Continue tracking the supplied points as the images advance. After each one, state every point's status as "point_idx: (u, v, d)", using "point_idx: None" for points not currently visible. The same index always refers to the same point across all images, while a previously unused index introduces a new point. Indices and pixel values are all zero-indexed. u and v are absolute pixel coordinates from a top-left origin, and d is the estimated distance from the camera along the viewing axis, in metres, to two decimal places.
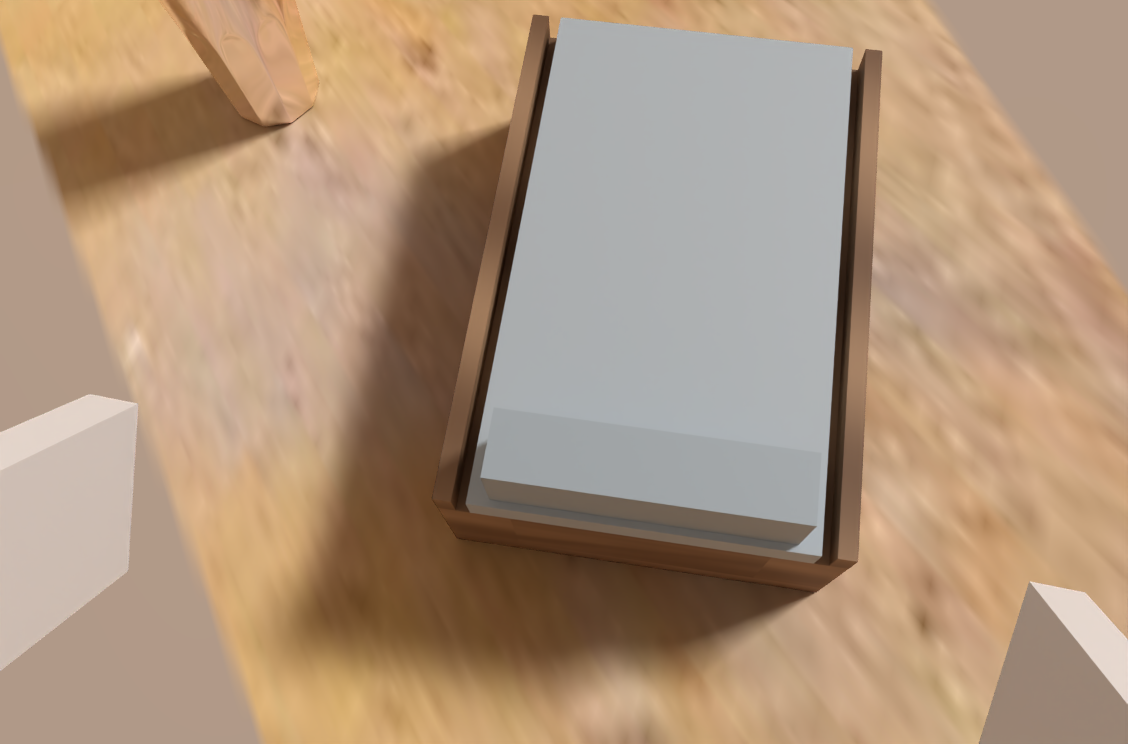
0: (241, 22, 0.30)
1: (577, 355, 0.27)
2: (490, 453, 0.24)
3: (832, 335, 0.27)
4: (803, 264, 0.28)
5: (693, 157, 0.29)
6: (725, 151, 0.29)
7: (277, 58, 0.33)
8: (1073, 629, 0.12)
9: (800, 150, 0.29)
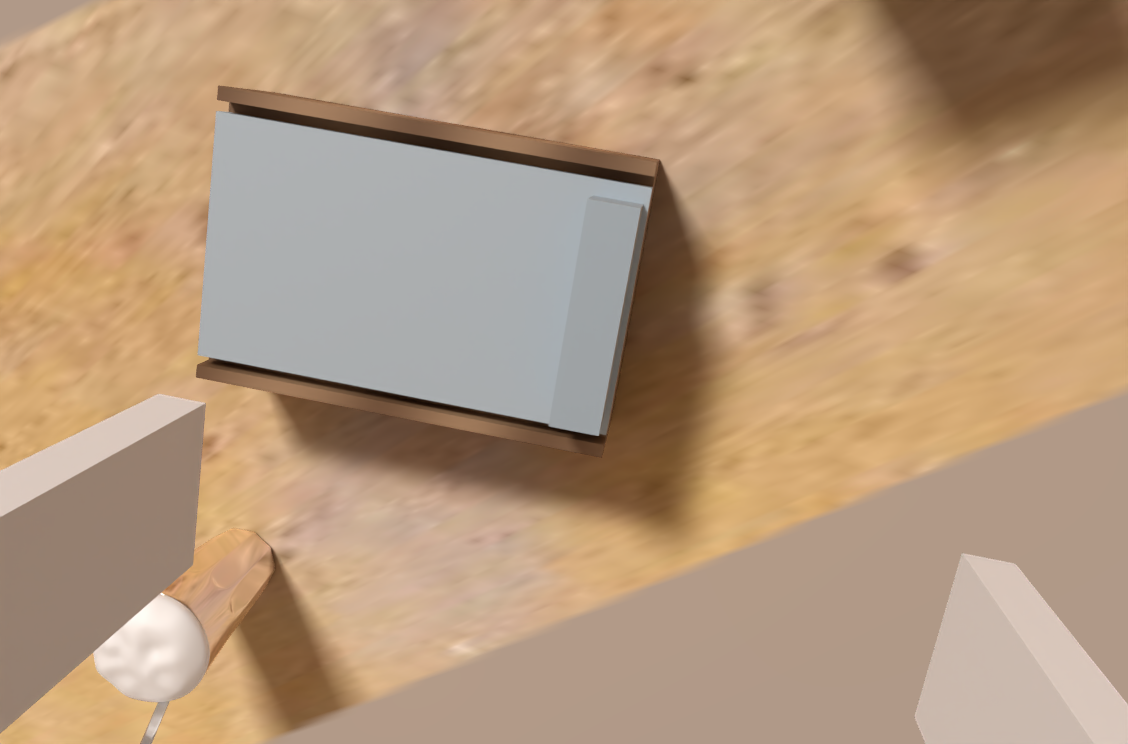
0: (221, 602, 0.39)
1: (496, 354, 0.36)
2: (581, 429, 0.34)
3: (481, 160, 0.35)
4: (420, 176, 0.35)
5: (326, 255, 0.36)
6: (320, 229, 0.36)
7: (234, 568, 0.41)
8: (997, 595, 0.13)
9: (318, 167, 0.35)
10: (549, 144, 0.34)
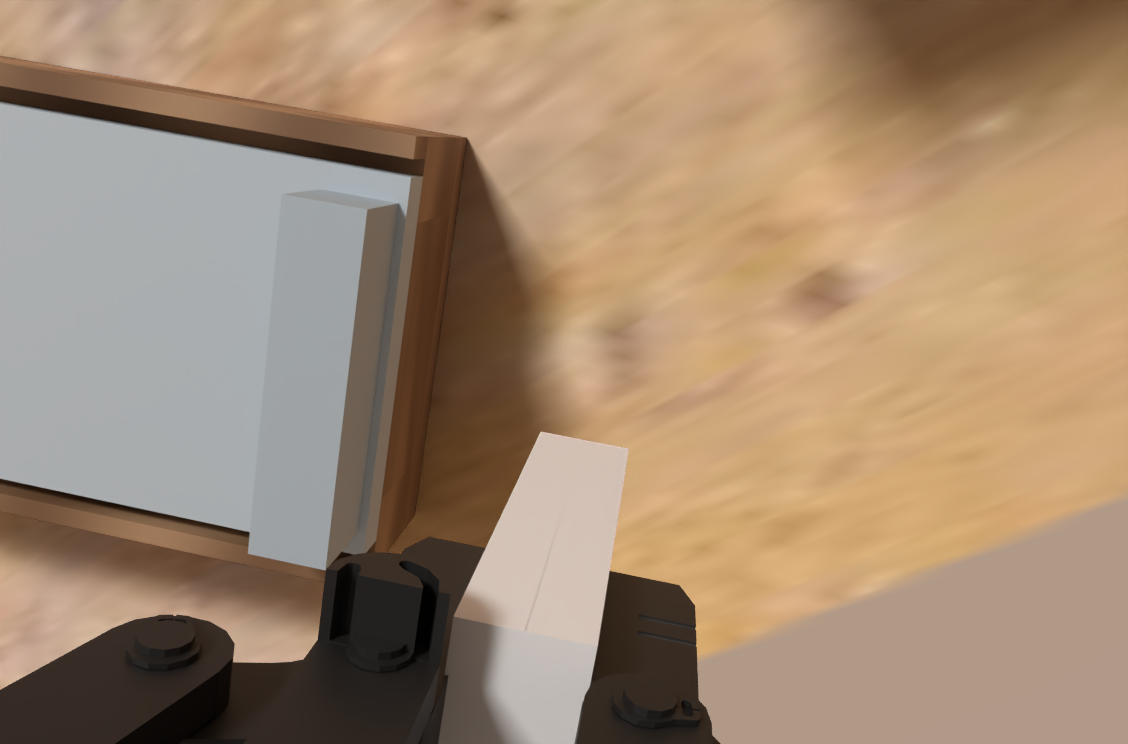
0: None
1: (193, 432, 0.24)
2: (298, 558, 0.22)
3: (148, 134, 0.22)
4: (61, 159, 0.22)
5: None
6: None
7: None
8: (582, 466, 0.15)
9: None
10: (250, 108, 0.22)
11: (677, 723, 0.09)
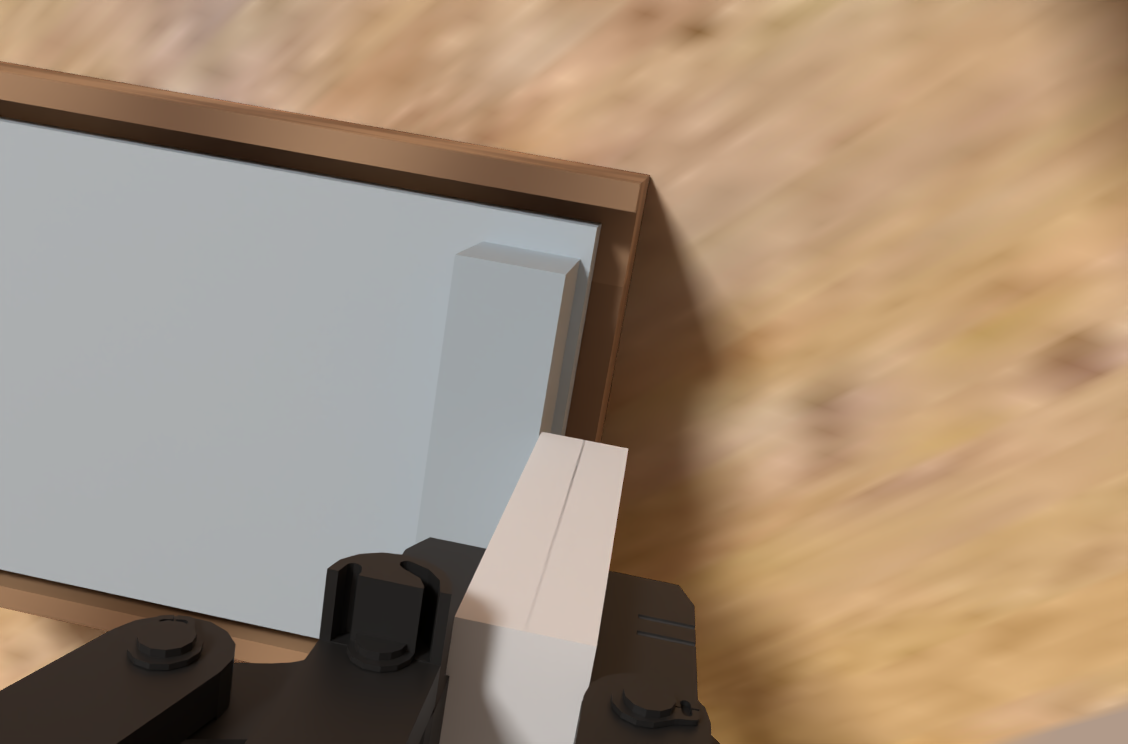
0: None
1: (312, 533, 0.19)
2: None
3: (267, 173, 0.18)
4: (156, 204, 0.18)
5: None
6: None
7: None
8: (581, 466, 0.15)
9: None
10: (429, 149, 0.17)
11: (676, 723, 0.09)
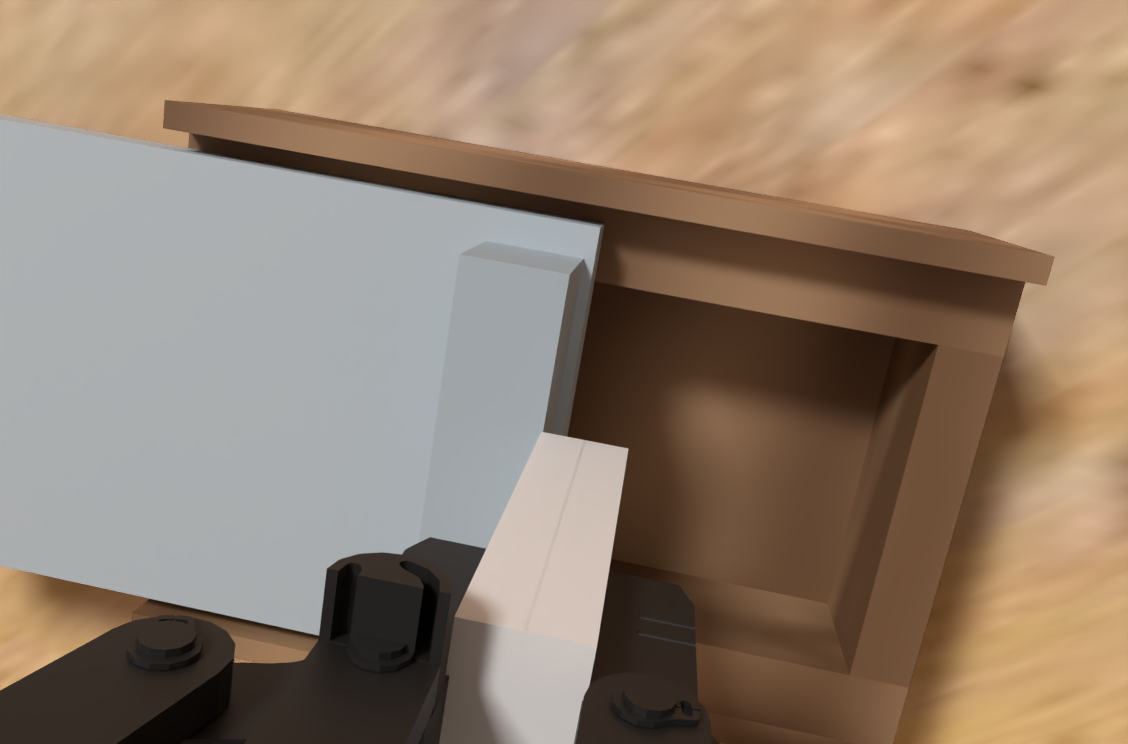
0: None
1: (316, 531, 0.19)
2: None
3: (271, 173, 0.18)
4: (161, 203, 0.18)
5: (1, 349, 0.19)
6: None
7: None
8: (581, 466, 0.15)
9: None
10: (829, 219, 0.17)
11: (676, 722, 0.09)
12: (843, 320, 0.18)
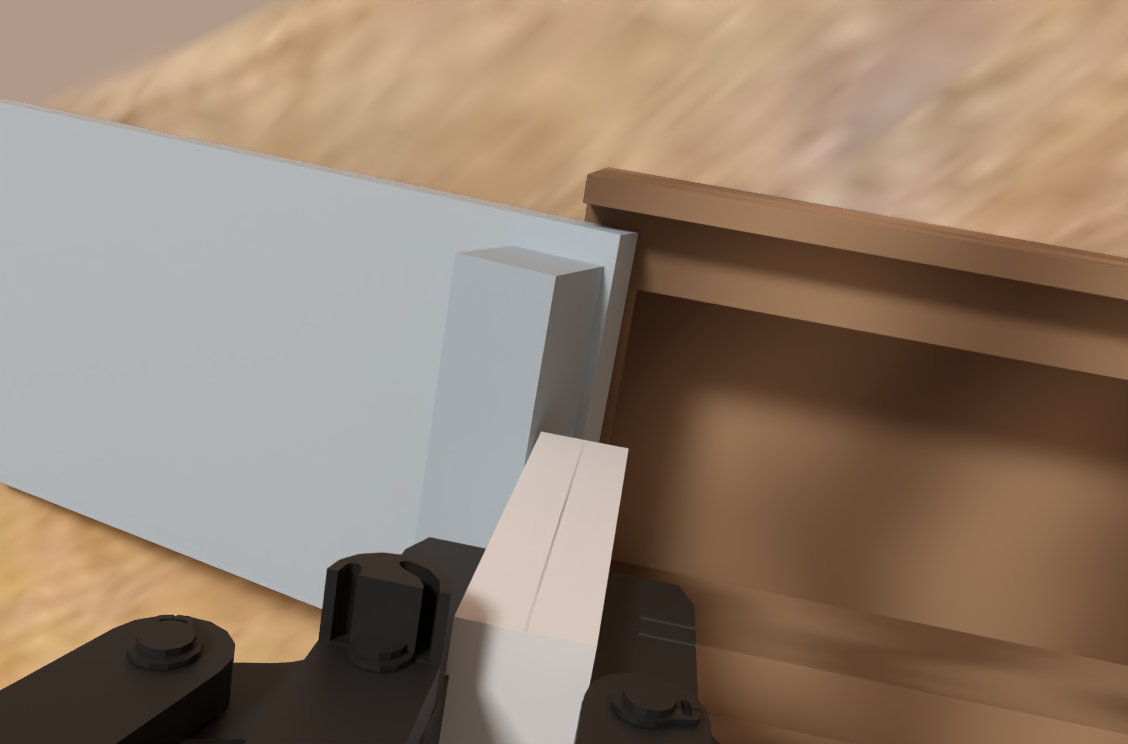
0: None
1: (357, 521, 0.20)
2: None
3: (329, 177, 0.19)
4: (240, 204, 0.20)
5: (116, 331, 0.22)
6: (106, 288, 0.22)
7: None
8: (581, 466, 0.15)
9: (100, 187, 0.21)
10: None
11: (676, 722, 0.09)
12: None
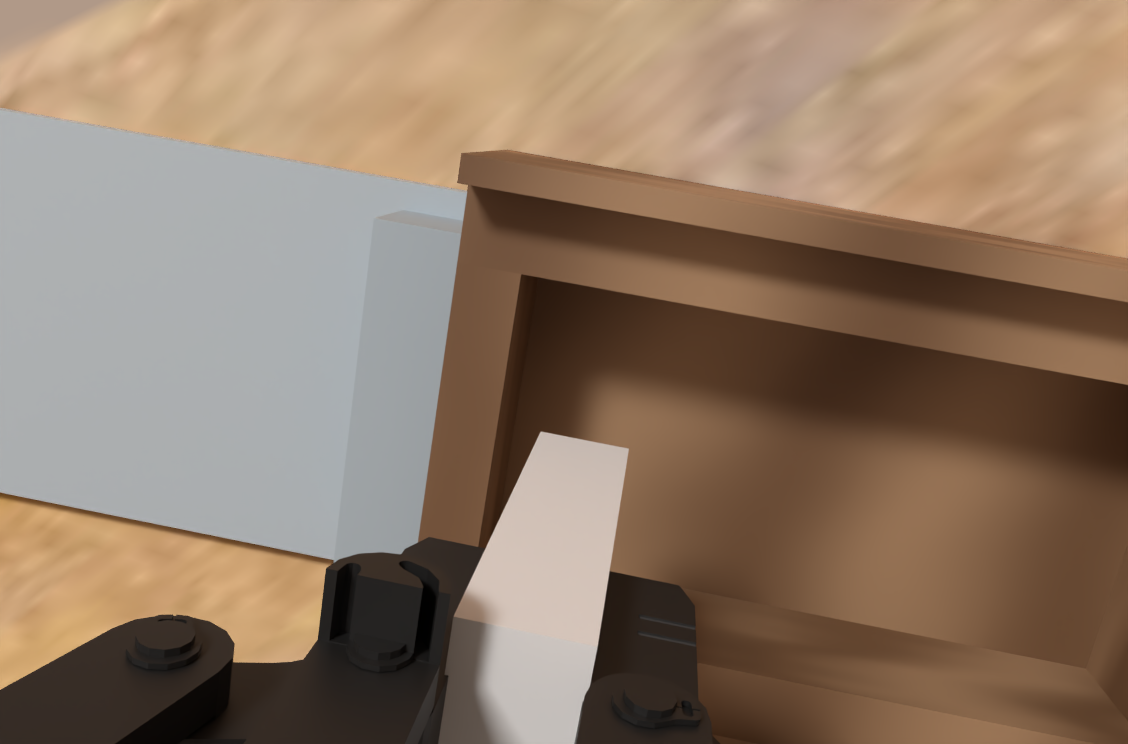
0: None
1: (265, 457, 0.23)
2: None
3: (223, 153, 0.21)
4: (130, 179, 0.22)
5: None
6: None
7: None
8: (581, 466, 0.15)
9: None
10: None
11: (676, 722, 0.09)
12: None
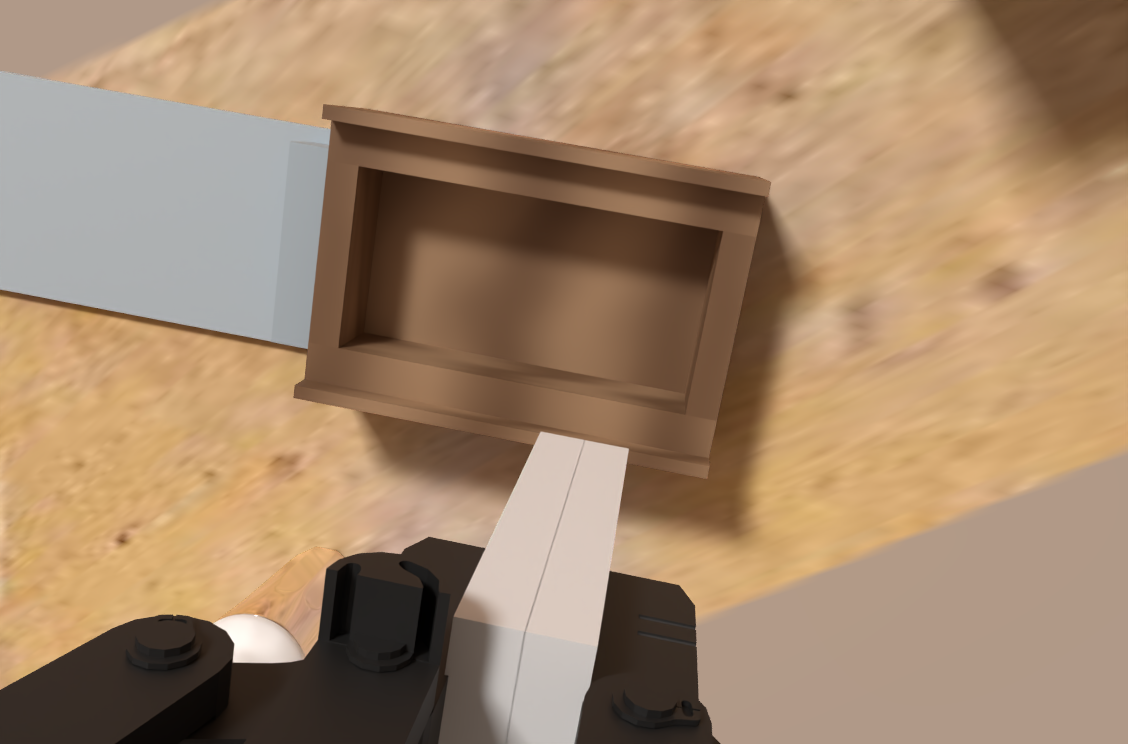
0: (316, 624, 0.39)
1: (238, 282, 0.41)
2: (299, 344, 0.39)
3: (214, 111, 0.40)
4: (164, 125, 0.40)
5: (88, 196, 0.41)
6: (82, 173, 0.41)
7: (323, 589, 0.41)
8: (582, 466, 0.15)
9: (77, 118, 0.40)
10: (661, 164, 0.34)
11: (677, 721, 0.09)
12: (674, 218, 0.35)
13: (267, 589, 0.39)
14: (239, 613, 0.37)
